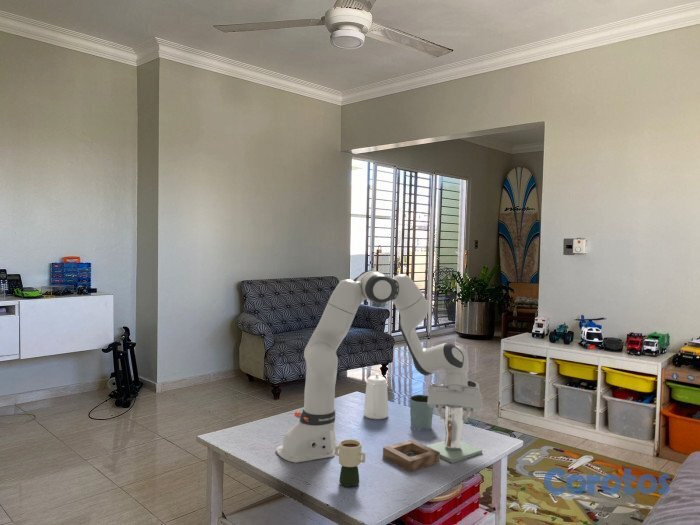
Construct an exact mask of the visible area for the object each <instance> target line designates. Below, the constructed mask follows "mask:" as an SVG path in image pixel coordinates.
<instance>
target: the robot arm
mask: <svg viewBox="0 0 700 525" xmlns="http://www.w3.org/2000/svg"><path fill="white" fill-rule="evenodd" d="M366 300H368V301H370V302H372V303H375V304H385V303H387V302H390V301H391V302H392V303H393V304H394V306H395V308H396V310H397V311H398V313H399V317H400V318H399V321H398V326H399V330H400V333H401V335H402V337H403V339H404V341H405V342H404V343H406V346H407V348H408V351H409V353H410V356H411V358H412V361H413V362H412V363H413V366H414V368H415V370H416V371H417V372H418V373H419V374H421V375H422V376H429V375H433V374H435V373H438V372H442V371H445V375H444V384H436V383H432V384H430V385H429V386H428V387H427V393H428V395H427V396H428V400H427V404H428V406H429V407H431V408H433V409H437V410H438V413H439V414H440V420H444V412H443V409H444V410H445V404H447V403H448V404H447V406H455V407H462V406H461V405H463V411H464V412H466V414H464V416H463V422H466V423H467V422H468V418H469V417H470V415H471V414H472V413H471V412H473V413H474V412H475V413H481V412H482V411H483V396H482V391H480V384H479V383H478V382H476V381H473V380H470V379H469V378H468V373H469V367H470V366H469V364H470V362H469V355H468V352H467V350H466V349H465V347H462V346H461V345H454V344H453V343H452V342H444V343H443V342H442V343H441V344H437V345H435V346H432V347H427V348H426V347H424V346H423V345H422V343H421V340H420V338H419V335H418V333H417V330H416V328H417V327H418V326H419V325H420V324H421V323H422V322H424V320H425V319H426V317H427V315H428V313H429V303H428V301H427V299H426V297H425V295H424V294H423V292H422V291H421V289H420V288H419V286H418V285H417V283H416V282H414V280H413V279H412V278H410V276H409V275H407V274H404V273H400V274H396V275H394V276H392V277H390V276H389V275H387V274H384V273H383V272H381V271H378V270H371V269H369V270H365V271H364V272H362V273H360V274H359V275H358V276H357V277H356V278H354V279H347V278H346V279H342V280H340V281H339V282H338V283H337V285H336V287H335V288H334V290H333V291H332V293H331V295H330V297H329V299H328V301H327V302H326V303H327V304H326V306H325V308H324V311H323V312H322V314H321V317H320V319H319V322H318V324H317V325H316V328H315V329H314V331H313V332H312V335H311V337H310V338H309V340H308V342H307V344H306V346H305V347H304V351H303V357H304V361H305V366H306V369H305V383H304V384H305V385H304V391H303V392H304V395H303V396H304V399H303V405H304V406H303V409H302V412H300V411H299V410H296V411H294V413H293V416H294V417H296V418H297V419H299V420H298V421H297V422H296V423H295V424H294V425H293V426H292V427H291V428H290V429H289V430H288V431H286V432H285V434H284V435H283V442H282V444H280V445H279V446H277V447H276V454H277V455H278V456H279V457H281V458H282V459H284V460H285V461H288V462H291V463H295V464H297V463H302V462H308V461H315V460H320V459H327V458H333V457H335V456H336V455H335V447H336V445H338V444H337V439H336V430H335V423H336V422H335V421H336V409H335V399H336V398H335V395H336V394H335V393H336V392H335V390H336V389H335V388H336V382H337V376H338V364H339V363H338V362H339V359H338V355H337V350H338V348H339V346H340V345H341V344H342V342H343V340H344V338H346V336H347V335H348V333H349V331H350V329H351V327H352V324H353V321H354V319H355V316H356V314H357V311H358V309H359V307H360V306H361V304H362V303H363V302H364V301H366Z"/></svg>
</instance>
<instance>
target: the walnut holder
mask: <svg viewBox="0 0 700 525" xmlns="http://www.w3.org/2000/svg"><path fill="white" fill-rule="evenodd" d="M411 452H412V454H414V456H409V455H408V454H411ZM407 453H408V454H407ZM382 458H384V459H385V460H387V461H389V462H391V463H393V464H395V465H396V464H397V465H396V466H398V467H401V468H402V469H403V470H406V471H407V472H409V473H410V472H414V471H416V470H417V471H418V470H420V469H423V468H425V467H428V466H432V465H436V464H438V463H440V460H441V458H440V452H438V451H436V450H434V449H432V448H430V447H427V445H425V444H423V443H421V442H418V441H416V440H415V439H413V438H412V439H408V440H405V441H402V442H398V443H394V444H391V445H387V446H383V447H382Z"/></svg>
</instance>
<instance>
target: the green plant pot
mask: <svg viewBox="0 0 700 525" xmlns="http://www.w3.org/2000/svg"><path fill="white" fill-rule="evenodd" d="M427 400H428V395H427V394H413V395H411V396H410V397H409V408H410V409H409V412H410V416H409V417H410V427H411V428H412V427H413V428H412V429H414V428H415V429H414V430H417V429H420V430H419V431H428V429H429V430H431V429H432V426H433V414H434V408H431V407H429V406H428V404H427Z"/></svg>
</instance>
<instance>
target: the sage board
mask: <svg viewBox="0 0 700 525" xmlns="http://www.w3.org/2000/svg"><path fill="white" fill-rule="evenodd" d="M444 444H445V439H444V440H442V441H438V442H435V443H431V444H428V445H427V444H426V446H427V447H430V448H432V449H434V450H436V451H438V452H440V459H442V460H444V461H447V462H448V463H450V462H451V464H454V463H458V462H459V461H463V460H465V459H469V458H472V457H474V455H475V456H478V455H481V454H483V449H481V448H479V447H477V446H474V445H472V444H469V443H467V442H465V441H463V440H461V448H458V449H451V448H448V447H446V446H445V445H444ZM480 453H481V454H480ZM477 454H478V455H477ZM471 456H472V457H471ZM468 457H469V458H468Z"/></svg>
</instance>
